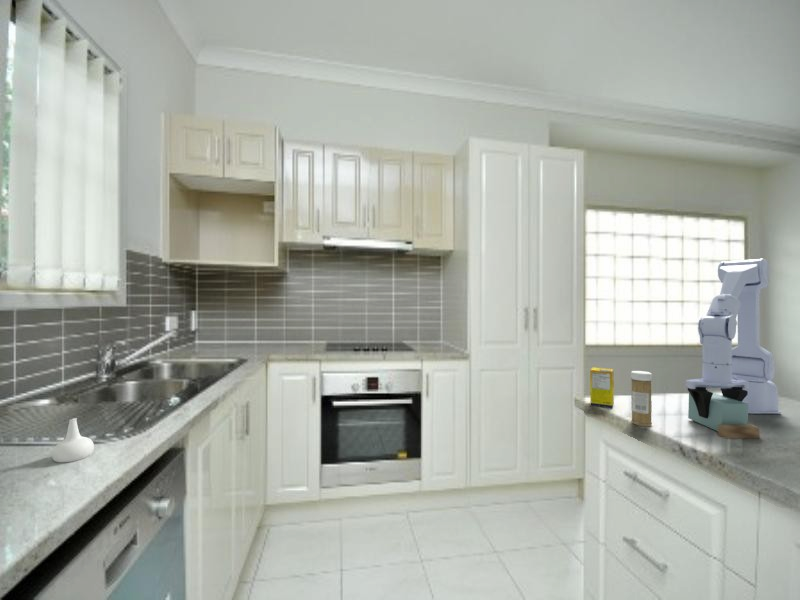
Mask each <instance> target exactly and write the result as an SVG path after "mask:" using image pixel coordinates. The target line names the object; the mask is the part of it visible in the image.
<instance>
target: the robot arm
mask: <svg viewBox="0 0 800 600" xmlns="http://www.w3.org/2000/svg"><path fill="white" fill-rule="evenodd" d="M717 277H718V279H719V281H720V283H721V284H722V285H721V288H720V294H718V295H716V296H714V298H713V299H712V301H711V303H710V306H709V308H708V310H707V313H706V315H704V316H703V317H700V318H699V320H698V326H697V331H698V335H699V342H700V345H701V346H702V349H701V351H702V358H701V359H702V361H701V362H702V366H701V368H702V370H701V372H702V374H701V375H702V377H701V378H695V379H686V380H685V388H687V391H688V394H689V393H690V394H691V396H692V398H693V400H694V402H695V404H696V407H697V410H698V414H699V416H701V417H704V418H708V415H709V405H710V400H711V397H712V395H713V393H714V392H713V393H712V391H708V389H720V391H721V395H722V396H725V397H728V398H731V399H734V400H737V401H740V402H744V403H747V404H748V414H754V415H755V414H759V415H760V414H782V412H781V411H779V390H778V387H777V385H776V384H775V382H773V381H772V380H773V379H774V378H775V373H776V364H775V361H774V355H773V353H772V352H771V351H769V350H767V349H766V348H764V347H763V346H761V343H760V342H761V341H760V340H761V339H760V337H761V336H760V331H761V330H760V294H761V292H762V291H761V290H762V289H766V288H768V287H769V284H770V267H769V262H768V261H767V259H765V258H763V257H761V258H756V259H755V258H754V259H741V260H729V261H728V260H727V261H726V260H722V261H721V262H719V264H718V268H717ZM736 334H737V345H736V346H734V347H733V339H734V338H735V336H736Z"/></svg>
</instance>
